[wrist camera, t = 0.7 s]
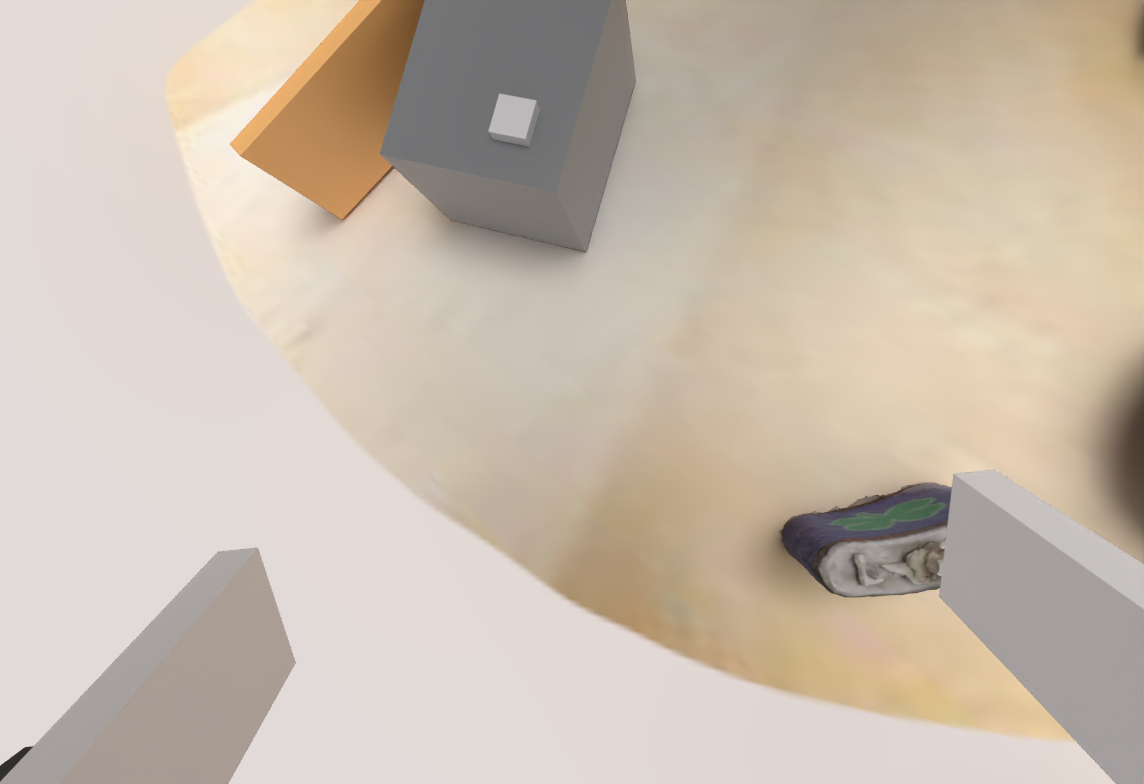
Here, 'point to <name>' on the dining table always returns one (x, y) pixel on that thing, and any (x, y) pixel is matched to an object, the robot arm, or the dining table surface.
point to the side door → (337, 108)
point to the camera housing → (514, 112)
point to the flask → (875, 542)
